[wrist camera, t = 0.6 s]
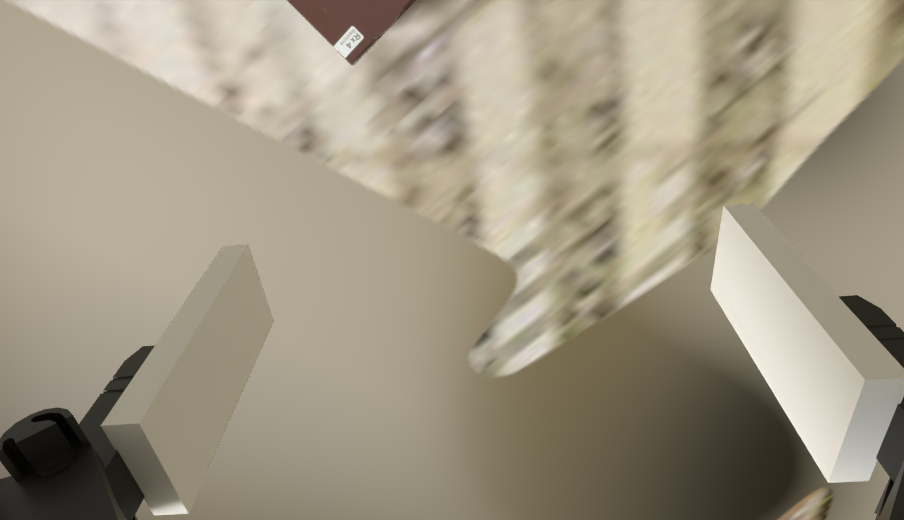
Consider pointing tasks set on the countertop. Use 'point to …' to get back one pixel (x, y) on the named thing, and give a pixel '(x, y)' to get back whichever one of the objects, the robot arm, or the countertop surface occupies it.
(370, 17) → the box
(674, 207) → the countertop surface
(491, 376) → the countertop surface
